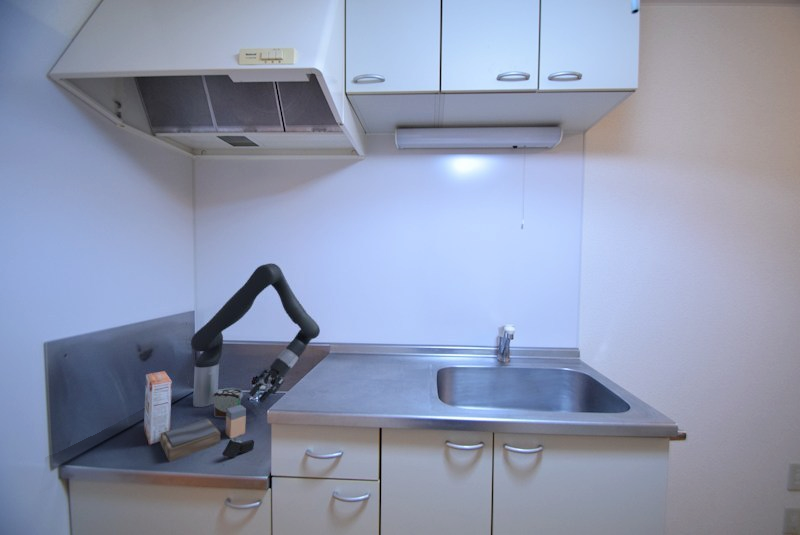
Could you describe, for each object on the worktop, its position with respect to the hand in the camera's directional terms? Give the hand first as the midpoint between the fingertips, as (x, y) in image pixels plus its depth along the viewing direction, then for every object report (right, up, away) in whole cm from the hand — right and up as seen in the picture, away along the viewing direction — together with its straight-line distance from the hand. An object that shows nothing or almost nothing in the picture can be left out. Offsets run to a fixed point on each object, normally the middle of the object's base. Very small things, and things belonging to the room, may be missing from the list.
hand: (255, 398), depth 113 cm
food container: (-15, -11, +9) cm, 20 cm away
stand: (-16, -10, -13) cm, 23 cm away
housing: (-5, -11, -5) cm, 13 cm away
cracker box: (-32, -10, -8) cm, 35 cm away
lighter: (+3, -11, -18) cm, 21 cm away
